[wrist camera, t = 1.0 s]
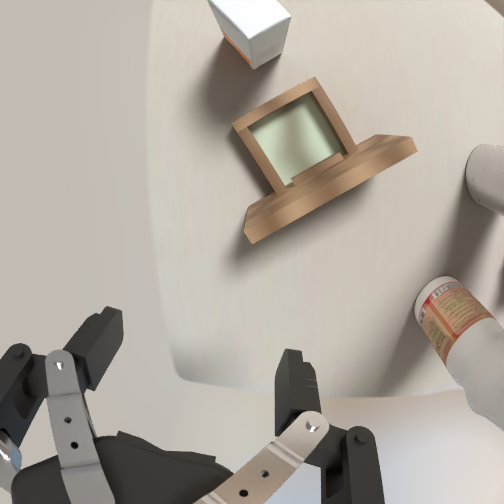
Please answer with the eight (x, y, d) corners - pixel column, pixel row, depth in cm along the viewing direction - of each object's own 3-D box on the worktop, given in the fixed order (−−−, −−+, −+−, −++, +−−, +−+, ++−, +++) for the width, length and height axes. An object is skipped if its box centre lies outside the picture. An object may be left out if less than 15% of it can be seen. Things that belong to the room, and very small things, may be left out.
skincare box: (222, 36, 26) (202, -6, 15) (252, 18, 25) (246, -30, 14) (253, 72, 28) (248, 40, 17) (284, 53, 27) (294, 15, 16)
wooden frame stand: (338, 67, 27) (362, 48, 19) (382, 145, 30) (417, 151, 22) (205, 142, 31) (185, 145, 23) (255, 216, 35) (252, 244, 27)
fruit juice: (439, 263, 36) (555, 397, 10) (467, 289, 38) (562, 405, 12) (401, 311, 40) (483, 464, 14) (433, 331, 41) (506, 459, 15)
